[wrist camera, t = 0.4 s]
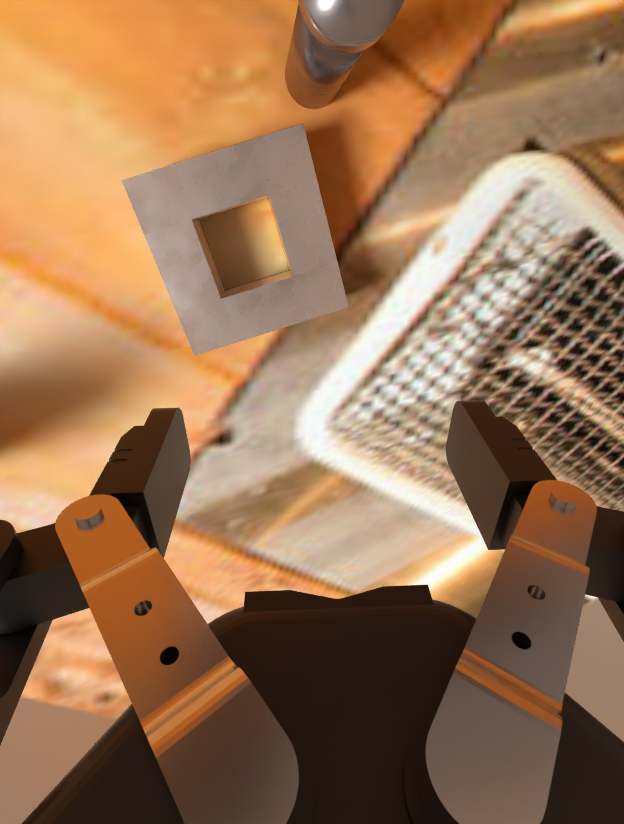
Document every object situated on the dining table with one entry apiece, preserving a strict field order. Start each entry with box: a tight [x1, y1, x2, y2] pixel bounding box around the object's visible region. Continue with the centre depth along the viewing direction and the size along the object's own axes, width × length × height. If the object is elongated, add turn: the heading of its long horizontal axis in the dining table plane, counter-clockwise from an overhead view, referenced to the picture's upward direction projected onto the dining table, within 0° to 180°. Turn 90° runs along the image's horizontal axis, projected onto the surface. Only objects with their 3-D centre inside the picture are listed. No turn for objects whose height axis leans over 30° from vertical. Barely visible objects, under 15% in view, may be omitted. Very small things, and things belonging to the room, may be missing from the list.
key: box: [285, 0, 404, 109], centre depth 24 cm, size 4×4×14 cm
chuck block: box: [122, 123, 349, 355], centre depth 32 cm, size 12×12×4 cm
